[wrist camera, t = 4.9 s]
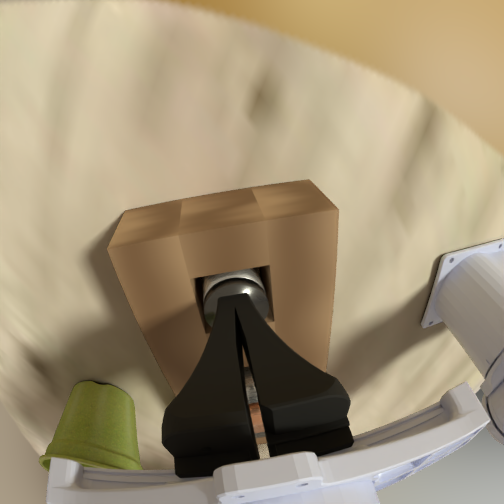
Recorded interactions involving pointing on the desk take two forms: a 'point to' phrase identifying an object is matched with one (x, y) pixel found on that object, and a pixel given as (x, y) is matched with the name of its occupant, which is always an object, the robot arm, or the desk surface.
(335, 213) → the socket block
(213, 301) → the plug
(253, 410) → the plug mid
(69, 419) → the plant pot
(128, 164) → the desk surface
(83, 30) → the desk surface
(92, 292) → the desk surface
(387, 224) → the desk surface
